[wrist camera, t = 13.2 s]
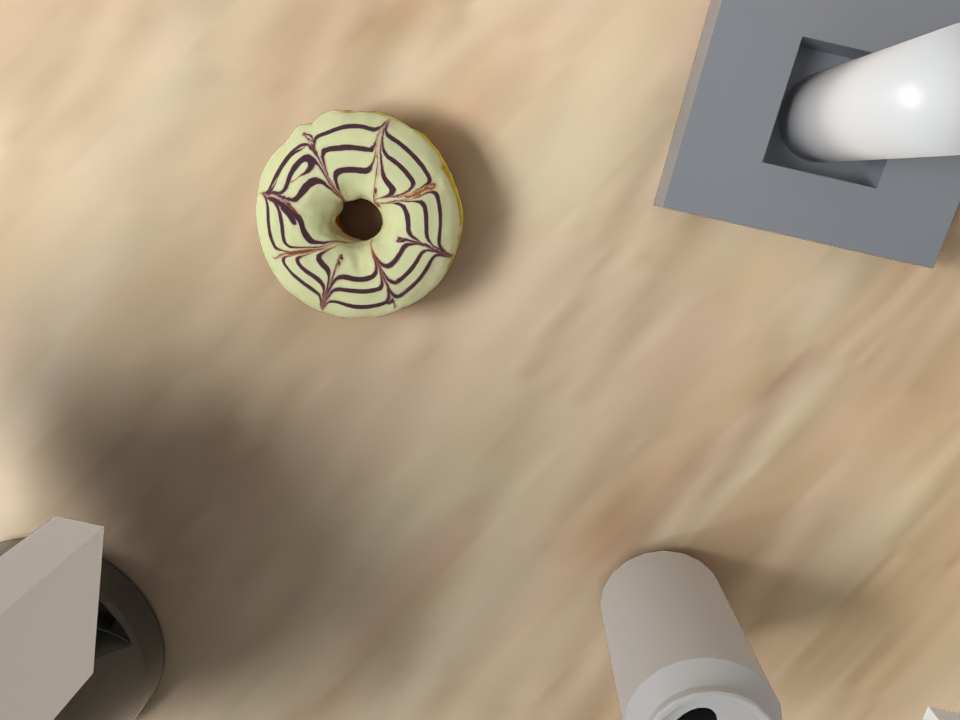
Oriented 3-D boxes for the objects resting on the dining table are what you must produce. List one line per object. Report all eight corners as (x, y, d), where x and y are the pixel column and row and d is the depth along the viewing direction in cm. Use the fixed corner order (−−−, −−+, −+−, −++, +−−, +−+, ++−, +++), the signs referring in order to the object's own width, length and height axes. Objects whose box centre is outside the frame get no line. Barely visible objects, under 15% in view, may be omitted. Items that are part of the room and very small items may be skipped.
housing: (906, 262, 36) (932, 268, 34) (653, 205, 36) (662, 206, 34) (1091, -213, 31) (1138, -245, 28) (791, -283, 30) (813, -321, 28)
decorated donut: (238, 168, 37) (207, 166, 33) (412, 80, 35) (400, 68, 32) (325, 337, 39) (306, 353, 36) (493, 262, 38) (490, 270, 34)
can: (648, 520, 41) (700, 655, 29) (744, 584, 42) (832, 740, 30) (574, 607, 43) (596, 765, 31) (668, 667, 44) (723, 843, 32)
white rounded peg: (767, 152, 35) (878, 140, 24) (796, 61, 34) (926, 7, 23) (850, 171, 35) (998, 167, 24) (882, 81, 34) (1052, 36, 23)
